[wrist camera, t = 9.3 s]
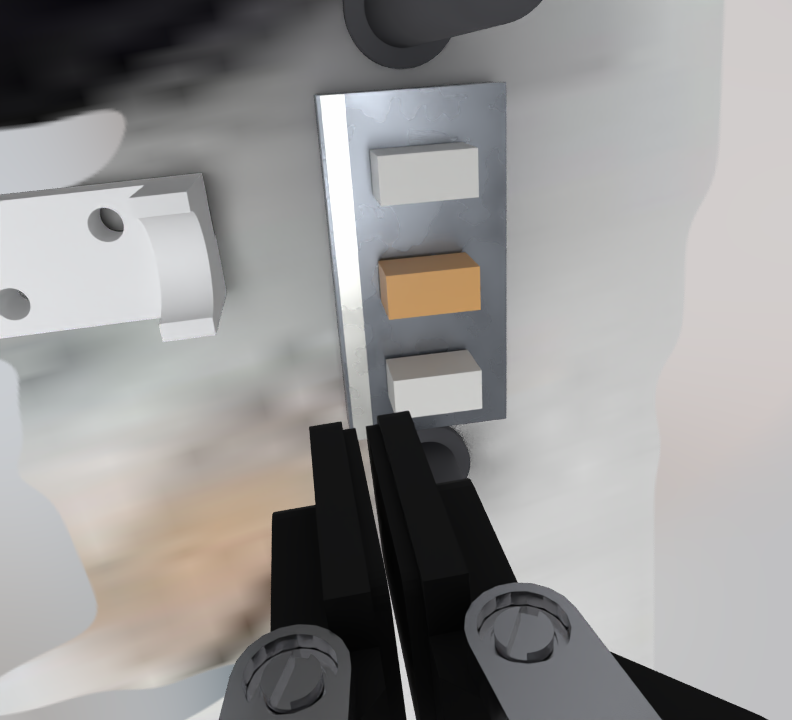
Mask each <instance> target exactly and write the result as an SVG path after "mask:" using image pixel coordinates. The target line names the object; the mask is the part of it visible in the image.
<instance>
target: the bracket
mask: <svg viewBox="0 0 792 720" xmlns="http://www.w3.org/2000/svg"><path fill="white" fill-rule="evenodd" d="M101 208H109V209H112V210H114V211H115V212H117V213H118V214H119V215H120V217H121V218H122V220H123V223H124V231H121V232H117V231H113V230H110V229H109V228H107V227H106V226H105V225H104V224H103V222H102V220H101V218H100V210H101ZM18 290H19V291H21V292H22V293H24V294H25V295H26V296H27V298H28V299H29V300H27V299H25V298H23V297H22V296H21V295H20V294H19V292H18ZM226 294H227V290H226V285H225V280H224V275H223V270H222V264H221V259H220V254H219V249H218V244H217V239H216V234H214V231H213V226H212V221H211V216H210V211H209V206H208V201H207V195H206V190H205V185H204V180H203V175H202V173H195V174H186V175H177V176H167V177H158V178H149V179H140V180H130V181H121V182H112V183H103V184H93V185H84V186H75V187H66V188H57V189H48V190H39V191H29V192H20V193H10V194H2V195H0V338H8V337H16V336H23V335H31V334H39V333H47V332H54V331H62V330H70V329H77V328H85V327H93V326H101V325H108V324H116V323H124V322H132V321H139V320H147V319H155V318H160V322H159V328H160V332H161V336H162V340H163V342H167V341H175V340H182V339H190V338H197V337H205V336H212V335H216V333H217V329H218V325H219V321H220V317H221V313H222V310H223V306H224V302H225V298H226Z"/></svg>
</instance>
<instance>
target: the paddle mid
mask: <svg viewBox="0 0 792 720" xmlns="http://www.w3.org/2000/svg"><path fill="white" fill-rule="evenodd" d="M378 265H379V279H380V292H381V302H382V305H383V307H384V309H385V312H386V314H387V316H388V319H389V320H393V319H402V318H411V317H420V316H429V315H438V314H447V313H456V312H465V311H473V310H481V299H480V266H479V265H478V264H477V263H476V262H475V261H474V260H473V259H472V258H471V257H470V256H469V255H468V254H467V253H466V252H462V253H452V254H442V255H432V256H422V257H412V258H403V259H393V260H383V261H378Z"/></svg>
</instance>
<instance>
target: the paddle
mask: <svg viewBox="0 0 792 720" xmlns="http://www.w3.org/2000/svg"><path fill="white" fill-rule="evenodd" d="M370 160H371V173H372V186H373V196H374V198H375V199H376V200H377V202H378V203H379V204H380V206H389V205H400V204H411V203H422V202H433V201H443V200H454V199H465V198H476V197H479V173H478V148H477V147H475V146H472V145H469V144H466V143H464V142H457V143H445V144H433V145H421V146H409V147H397V148H385V149H373V150H370Z"/></svg>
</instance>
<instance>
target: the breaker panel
mask: <svg viewBox="0 0 792 720" xmlns="http://www.w3.org/2000/svg"><path fill="white" fill-rule="evenodd" d="M314 101H315V110H316V120H317V130H318V139H319V149H320V159H321V168H322V178H323V188H324V197H325V207H326V217H327V226H328V236H329V246H330V255H331V265H332V274H333V284H334V294H335V303H336V313H337V323H338V332H339V342H340V352H341V361H342V371H343V381H344V390H345V400H346V410H347V419H348V424H349V429H351V428H356V432H357V437H358V440H363V439H367V435H366V426H369V425H375V424H377V416H378V415H384V414H390V413H394V411H393V408H392V405H391V402H390V399H389V396H388V384H387V371H386V359H393V358H401V357H410V356H418V355H426V354H435V353H443V352H452V351H460V350H468V351H469V352H470V354H471V355H472V357H473V358H474V360H475V361H476V363H477V364H478V366H479V367H480V369H481V370H482V409H476V410H468V411H460V412H452V413H445V414H437V415H429V416H421V417H414V418H412V420H413V422H414V425H415V428H416V430H421V429H429V428H436V427H444V426H452V425H459V424H467V423H475V422H482V421H490V420H498V419H505V418H506V82H482V83H468V84H454V85H441V86H427V87H413V88H399V89H386V90H372V91H358V92H344V93H331V94H317V95H314ZM457 142H464V143H466V144H469V145H472V146H475V147H477V148H478V173H479V197H476V198H465V199H454V200H443V201H433V202H422V203H411V204H400V205H389V206H380V204H379V203H378V202H377V200H376V199H375V198H374V196H373V186H372V173H371V160H370V150H373V149H385V148H397V147H409V146H421V145H433V144H445V143H457ZM462 252H466V253H467V254H468V255H469V256H470V257H471V258H472V259H473V260H474V261H475V262H476V263H477V264H478V265H479V266H480V299H481V310H473V311H465V312H456V313H447V314H438V315H429V316H420V317H411V318H402V319H393V320H389V319H388V316H387V314H386V312H385V309H384V307H383V305H382V302H381V292H380V279H379V265H378V261H383V260H393V259H403V258H412V257H422V256H432V255H442V254H452V253H462Z"/></svg>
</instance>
